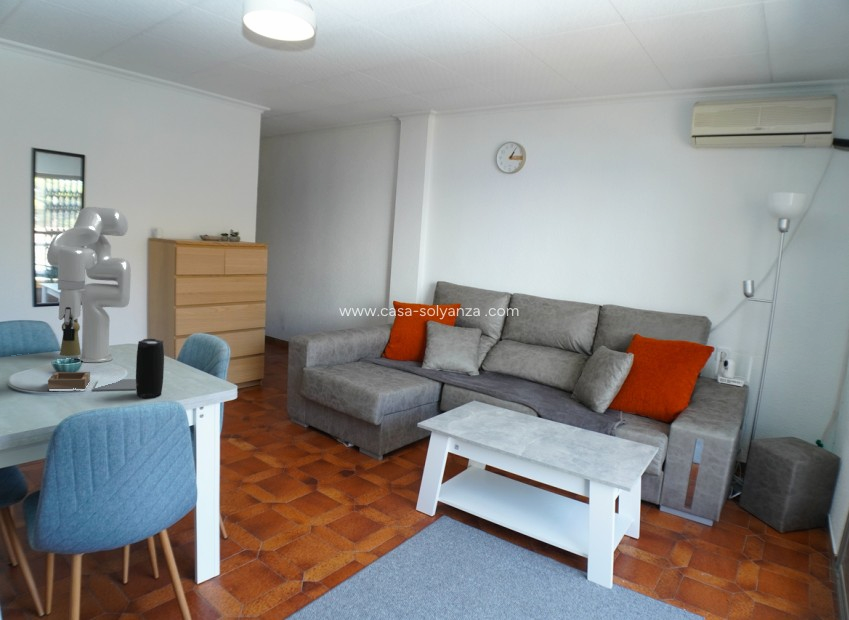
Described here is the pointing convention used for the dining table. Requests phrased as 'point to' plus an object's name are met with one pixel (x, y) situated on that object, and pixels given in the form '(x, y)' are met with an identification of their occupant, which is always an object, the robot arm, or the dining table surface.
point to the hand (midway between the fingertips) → (70, 338)
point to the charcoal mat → (119, 386)
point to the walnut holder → (69, 380)
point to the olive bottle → (71, 344)
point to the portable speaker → (149, 368)
